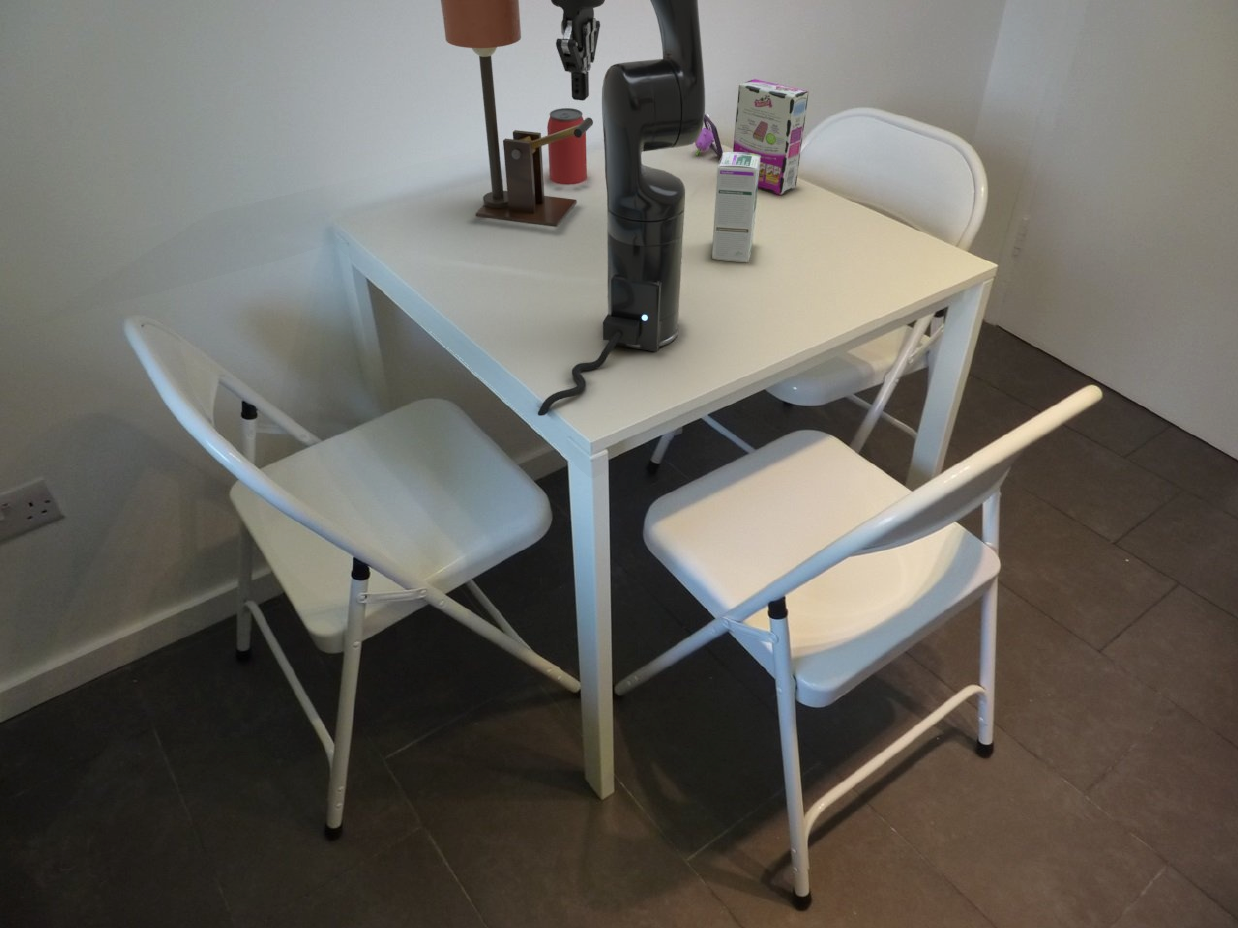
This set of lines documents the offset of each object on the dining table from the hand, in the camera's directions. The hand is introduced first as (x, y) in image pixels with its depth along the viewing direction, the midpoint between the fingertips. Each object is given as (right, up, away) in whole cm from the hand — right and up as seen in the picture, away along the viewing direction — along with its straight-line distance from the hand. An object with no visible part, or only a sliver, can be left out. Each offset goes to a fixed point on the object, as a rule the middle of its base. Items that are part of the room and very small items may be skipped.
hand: (580, 98), depth 125 cm
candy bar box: (+31, -5, +25) cm, 40 cm away
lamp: (-14, -11, +15) cm, 23 cm away
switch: (-4, -5, +6) cm, 9 cm away
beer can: (-3, -4, +25) cm, 26 cm away
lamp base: (-9, -13, +15) cm, 22 cm away
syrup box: (+23, -22, +4) cm, 32 cm away
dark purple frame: (+23, +5, +36) cm, 43 cm away
